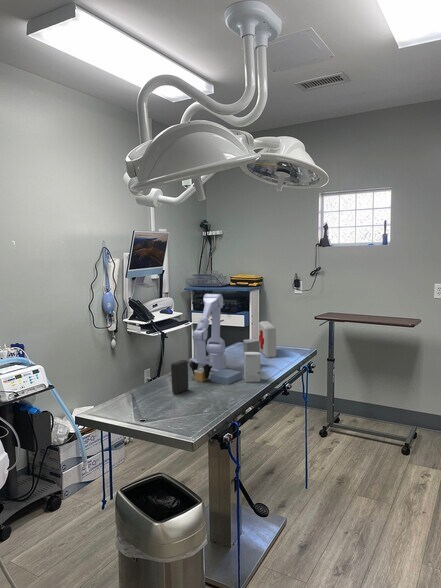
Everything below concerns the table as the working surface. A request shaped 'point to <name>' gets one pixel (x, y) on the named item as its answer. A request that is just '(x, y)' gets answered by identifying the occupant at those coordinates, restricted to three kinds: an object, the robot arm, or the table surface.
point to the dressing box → (226, 376)
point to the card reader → (179, 376)
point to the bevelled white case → (267, 339)
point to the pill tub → (200, 375)
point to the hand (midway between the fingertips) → (201, 377)
